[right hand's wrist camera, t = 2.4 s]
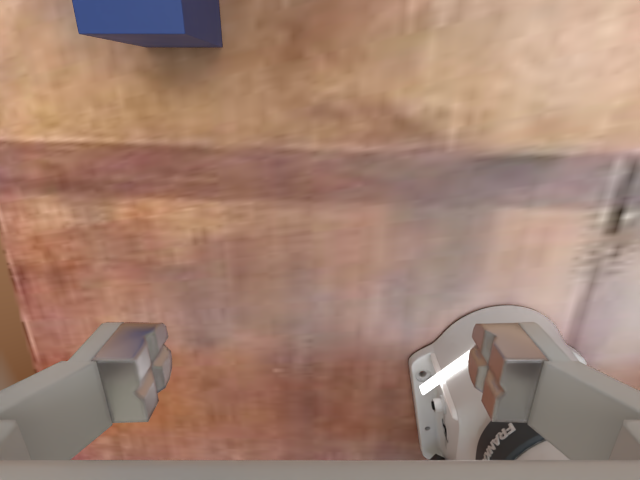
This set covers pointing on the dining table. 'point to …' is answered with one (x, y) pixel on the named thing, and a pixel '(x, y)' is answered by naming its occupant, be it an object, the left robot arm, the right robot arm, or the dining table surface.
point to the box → (151, 22)
